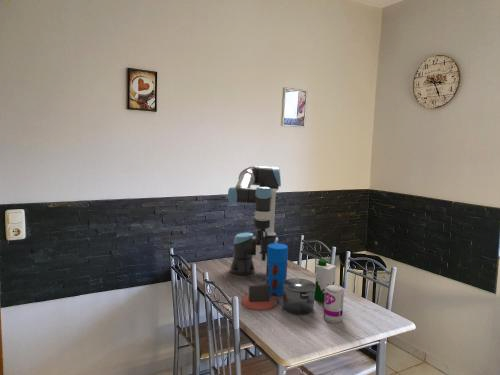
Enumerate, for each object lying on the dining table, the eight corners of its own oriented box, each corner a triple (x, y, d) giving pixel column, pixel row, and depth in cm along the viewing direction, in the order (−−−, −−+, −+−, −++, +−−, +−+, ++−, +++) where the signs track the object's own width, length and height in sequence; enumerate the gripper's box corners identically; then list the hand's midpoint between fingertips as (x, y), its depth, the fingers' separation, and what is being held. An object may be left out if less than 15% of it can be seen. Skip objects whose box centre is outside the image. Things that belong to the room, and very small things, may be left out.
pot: (277, 299, 187) (278, 276, 185) (307, 298, 189) (308, 276, 188) (287, 318, 166) (288, 293, 165) (320, 317, 168) (322, 292, 167)
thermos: (284, 297, 190) (286, 250, 187) (263, 294, 192) (265, 247, 189) (286, 289, 200) (289, 244, 197) (267, 286, 203) (269, 242, 200)
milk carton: (320, 294, 195) (322, 257, 192) (335, 299, 189) (338, 262, 186) (311, 299, 188) (313, 261, 186) (326, 304, 182) (329, 265, 180)
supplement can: (332, 325, 162) (334, 292, 160) (319, 317, 169) (321, 285, 167) (345, 320, 166) (347, 289, 164) (332, 313, 173) (334, 282, 171)
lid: (239, 296, 189) (240, 278, 188) (272, 295, 192) (273, 278, 190) (243, 311, 172) (244, 292, 171) (279, 310, 175) (280, 291, 174)
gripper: (251, 214, 189) (249, 254, 191) (258, 224, 164) (256, 270, 167) (265, 214, 190) (263, 254, 192) (275, 224, 165) (273, 270, 168)
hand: (260, 262), depth 179 cm, fingers open, 13 cm apart
